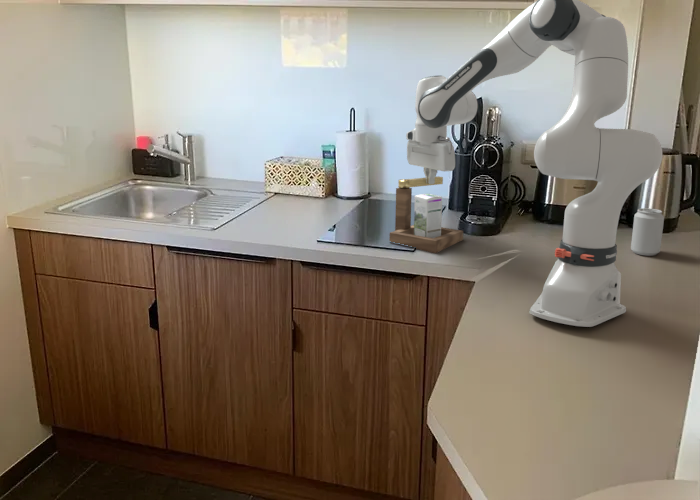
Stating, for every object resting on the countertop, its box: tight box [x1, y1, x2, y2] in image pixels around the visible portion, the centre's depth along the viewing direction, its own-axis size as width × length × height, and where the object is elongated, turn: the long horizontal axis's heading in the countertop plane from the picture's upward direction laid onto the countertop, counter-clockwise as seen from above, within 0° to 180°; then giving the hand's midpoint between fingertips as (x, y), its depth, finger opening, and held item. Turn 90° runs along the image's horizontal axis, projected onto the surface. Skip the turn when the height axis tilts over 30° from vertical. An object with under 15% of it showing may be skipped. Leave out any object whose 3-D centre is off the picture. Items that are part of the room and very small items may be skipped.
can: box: [630, 207, 665, 257], centre depth 194 cm, size 8×8×12 cm
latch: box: [397, 175, 444, 188], centre depth 205 cm, size 15×3×2 cm, turn 121°
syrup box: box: [413, 193, 443, 238], centre depth 199 cm, size 6×6×14 cm
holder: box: [388, 187, 464, 254], centre depth 201 cm, size 15×17×16 cm
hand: (430, 183), depth 205 cm, fingers closed
